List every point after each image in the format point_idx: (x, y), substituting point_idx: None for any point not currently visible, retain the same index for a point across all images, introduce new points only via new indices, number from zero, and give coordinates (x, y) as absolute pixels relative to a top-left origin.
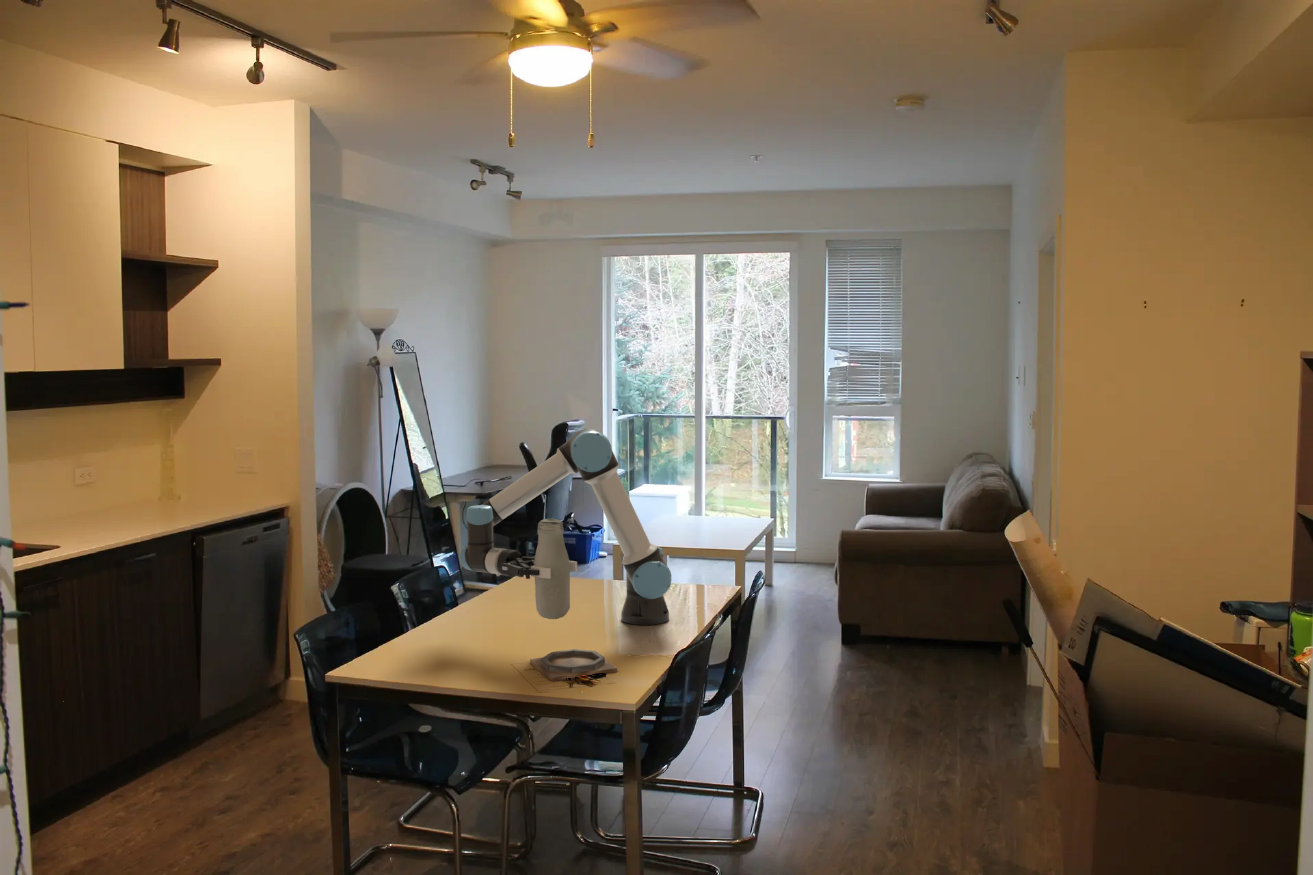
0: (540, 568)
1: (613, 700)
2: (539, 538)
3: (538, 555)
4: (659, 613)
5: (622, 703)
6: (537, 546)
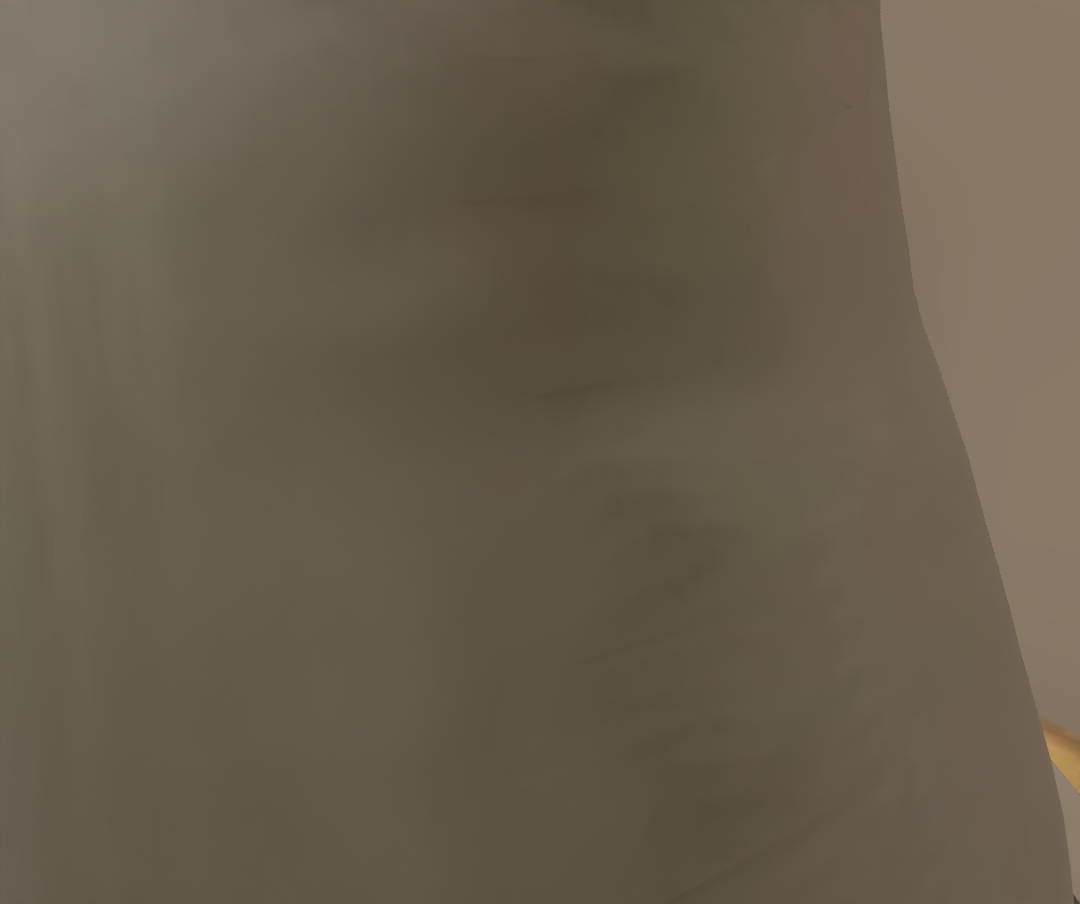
0: (1056, 783)
1: (1057, 755)
2: (879, 65)
3: (1003, 595)
4: None
5: (1041, 725)
6: (852, 437)
